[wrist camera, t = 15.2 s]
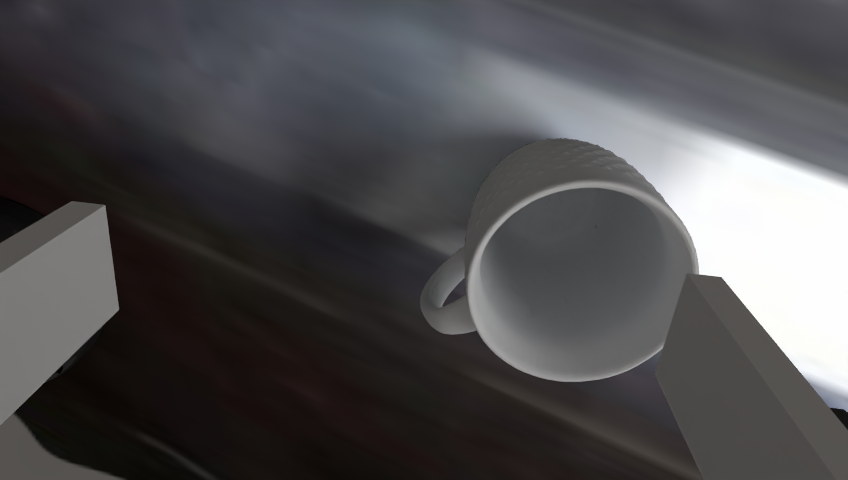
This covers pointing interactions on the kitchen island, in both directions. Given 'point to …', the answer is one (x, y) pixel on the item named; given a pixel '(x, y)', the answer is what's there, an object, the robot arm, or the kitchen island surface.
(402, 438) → the kitchen island surface
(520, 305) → the mug
